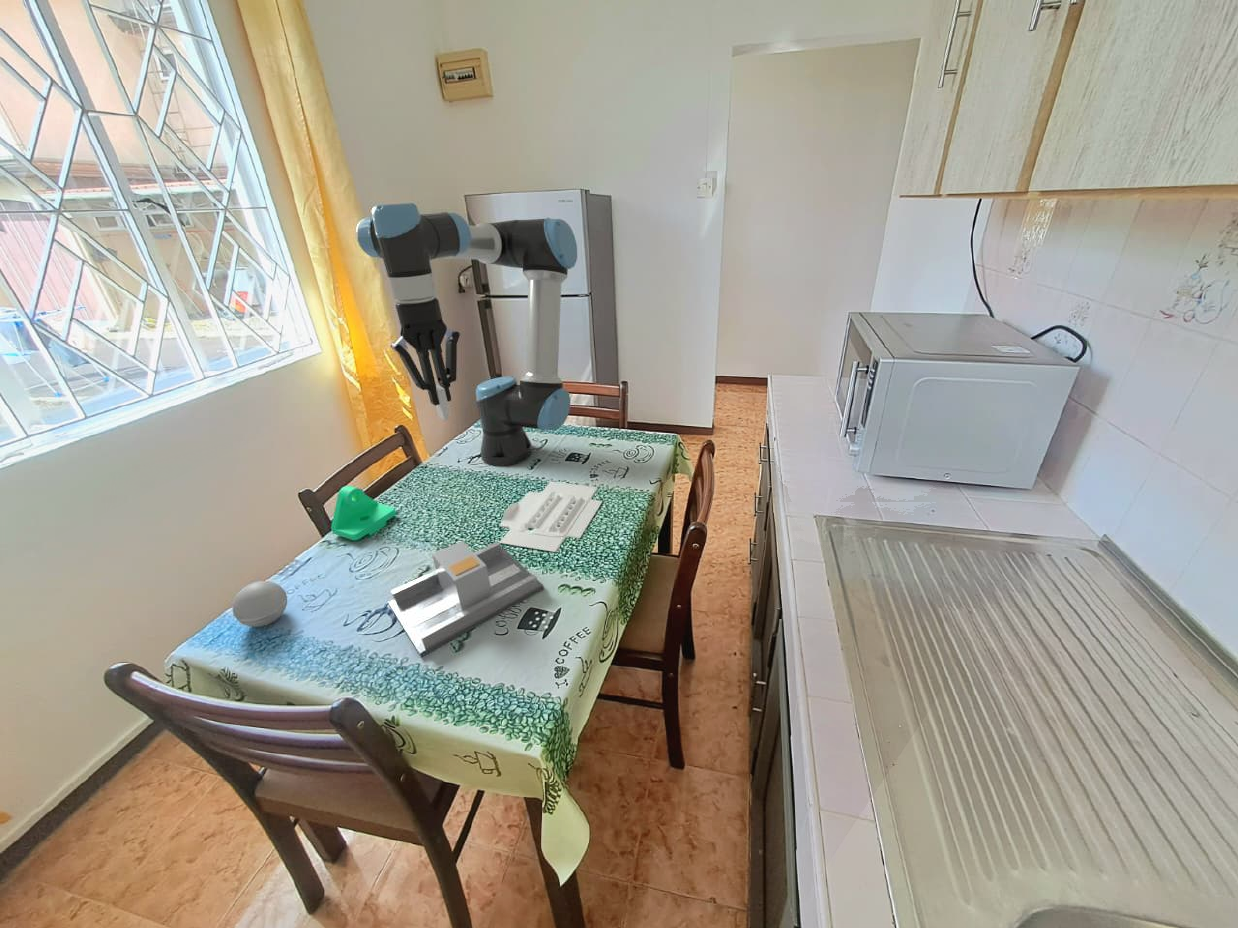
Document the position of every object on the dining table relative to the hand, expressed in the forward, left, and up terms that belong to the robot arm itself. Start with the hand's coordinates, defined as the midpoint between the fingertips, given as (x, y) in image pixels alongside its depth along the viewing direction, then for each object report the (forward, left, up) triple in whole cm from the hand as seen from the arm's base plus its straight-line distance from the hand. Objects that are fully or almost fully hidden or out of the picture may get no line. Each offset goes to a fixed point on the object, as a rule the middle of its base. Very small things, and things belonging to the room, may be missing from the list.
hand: (445, 417), depth 101 cm
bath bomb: (+40, +1, -28) cm, 49 cm away
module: (+10, +21, -27) cm, 36 cm away
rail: (+10, +21, -28) cm, 37 cm away
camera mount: (+18, -18, -28) cm, 38 cm away
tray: (-18, +8, -29) cm, 35 cm away
